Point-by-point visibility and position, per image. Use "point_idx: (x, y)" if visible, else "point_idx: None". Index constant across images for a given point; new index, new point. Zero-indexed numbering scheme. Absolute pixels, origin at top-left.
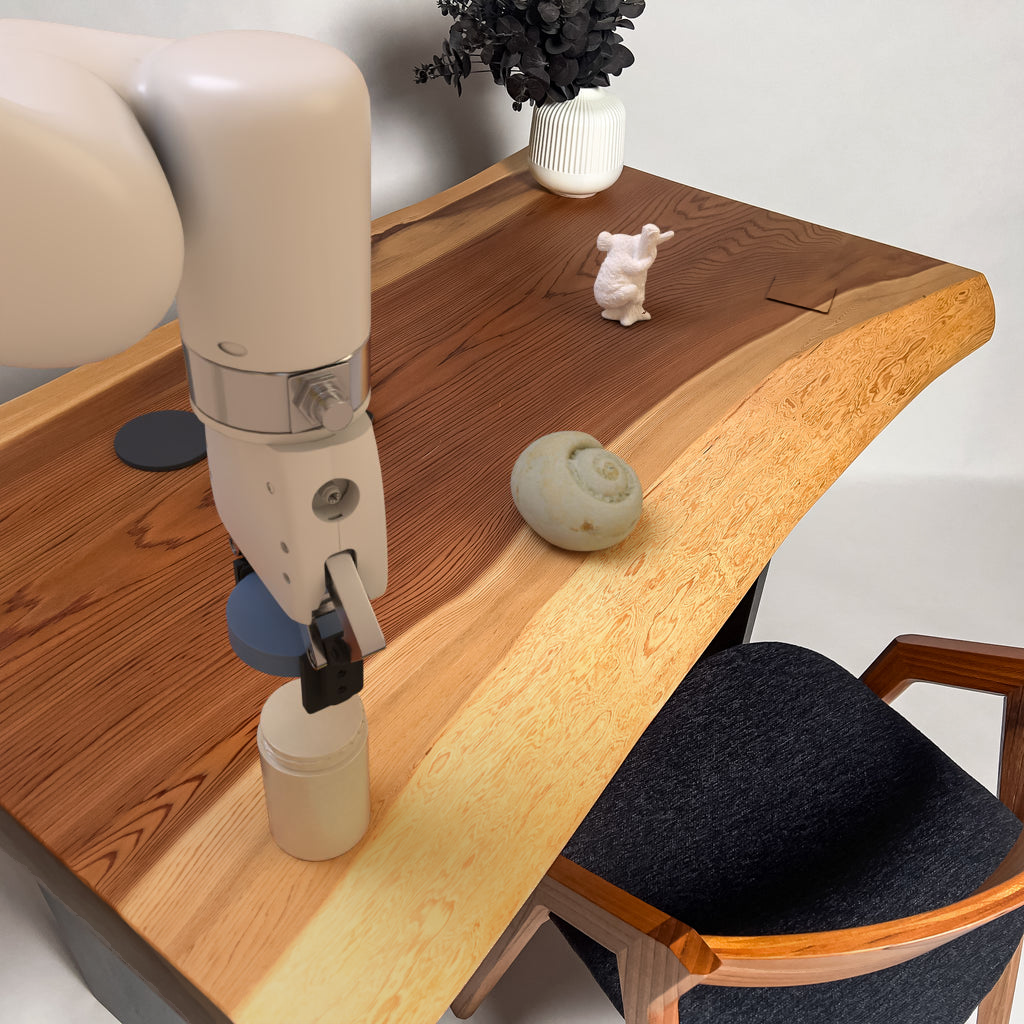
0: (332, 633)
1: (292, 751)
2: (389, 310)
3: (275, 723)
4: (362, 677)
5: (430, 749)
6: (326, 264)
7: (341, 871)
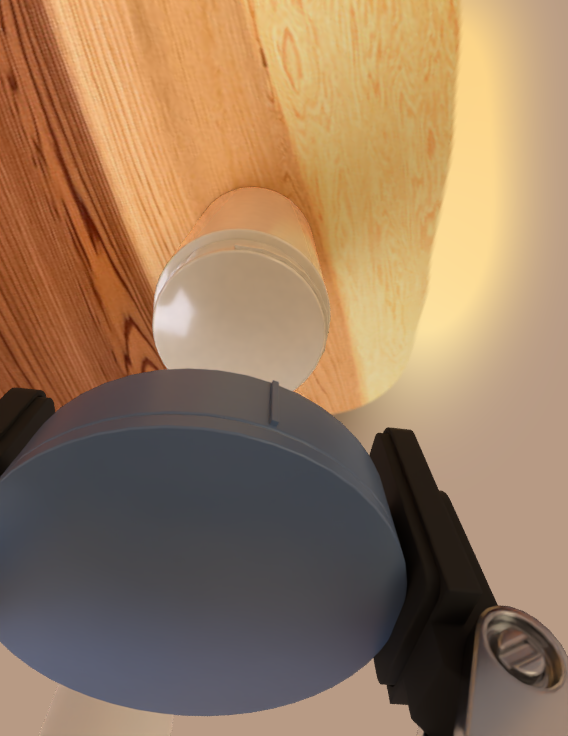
0: (359, 589)
1: None
2: None
3: None
4: (421, 456)
5: (262, 53)
6: None
7: (327, 272)
